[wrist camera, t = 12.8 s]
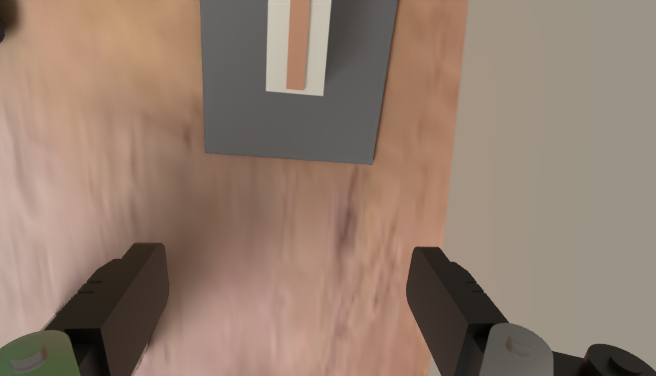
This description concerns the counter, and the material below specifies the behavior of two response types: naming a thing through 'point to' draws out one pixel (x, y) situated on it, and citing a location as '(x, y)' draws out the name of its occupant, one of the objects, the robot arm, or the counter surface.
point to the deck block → (297, 46)
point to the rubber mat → (288, 108)
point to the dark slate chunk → (1, 32)
